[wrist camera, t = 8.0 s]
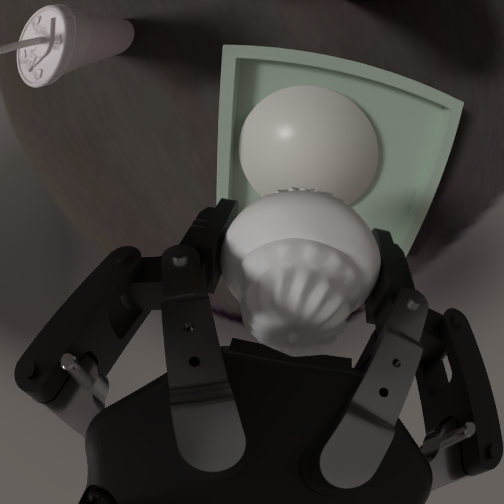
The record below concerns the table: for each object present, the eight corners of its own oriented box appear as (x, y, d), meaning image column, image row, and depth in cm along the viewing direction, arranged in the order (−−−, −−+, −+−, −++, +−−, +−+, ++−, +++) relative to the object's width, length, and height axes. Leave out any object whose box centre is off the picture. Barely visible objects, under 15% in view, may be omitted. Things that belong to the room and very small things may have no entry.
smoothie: (160, 28, 16) (24, 35, 6) (118, 79, 20) (-6, 128, 9) (120, -4, 14) (-9, -1, 3) (84, 46, 17) (-36, 80, 7)
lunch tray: (232, 46, 17) (222, 44, 15) (450, 97, 15) (463, 102, 13) (223, 213, 27) (216, 227, 25) (397, 247, 25) (402, 263, 24)
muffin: (370, 156, 10) (419, 267, 5) (363, 266, 14) (373, 387, 9) (229, 163, 12) (157, 267, 7) (252, 266, 16) (218, 378, 10)
